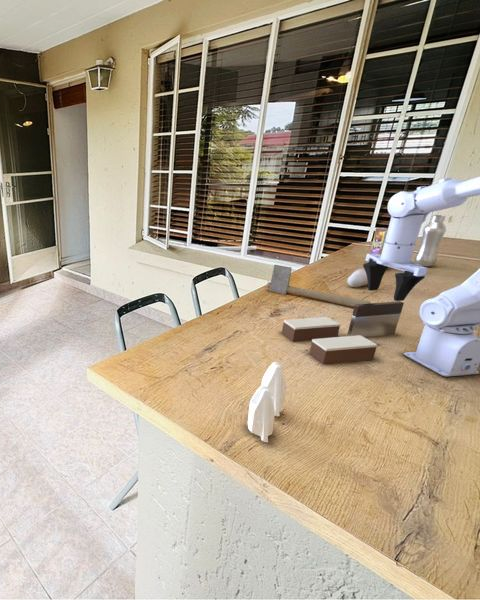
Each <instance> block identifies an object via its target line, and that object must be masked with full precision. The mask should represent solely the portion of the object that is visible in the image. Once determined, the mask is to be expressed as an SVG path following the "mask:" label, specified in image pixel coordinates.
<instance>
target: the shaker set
mask: <svg viewBox="0 0 480 600" xmlns="http://www.w3.org/2000/svg"><path fill="white" fill-rule="evenodd" d="M286 391H287V383H286V380H285V377H284V372H283V369H282V367H281V365H280V364H279V362H278V361H273V362H272V363H271V364H270V365H269V366H268V368H267V369H266V371H265V373H264V375H263V376H262V379H261V385H260V386H259V387H258V388H257V389H256V391H255V392H254V393H253V396H252V397H251V398H250V401H249V406H248V414H247V415H248V416H247V423H246V424H247V429H248V430H249V432H250V433H251V434H254V435H255V436H258V437H259V438H260V441H262V442H263V443H269V436H271V435H272V434H273V431H274V422H275V417H280V415H281V414H280V413H281V412H282V411H283V410H284V405H285V399H286Z"/></svg>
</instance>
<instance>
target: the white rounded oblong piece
mask: <svg viewBox="0 0 480 600" xmlns="http://www.w3.org/2000/svg"><path fill="white" fill-rule="evenodd" d="M346 283H347V285H348V286H350V287H351V288H360V287H363V286H368V280H367V275H366V271H365V269H364V268H357V269H355V270H354V271H353V273H351V274H350V276H348V278H347V280H346Z"/></svg>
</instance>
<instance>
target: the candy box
mask: <svg viewBox="0 0 480 600" xmlns="http://www.w3.org/2000/svg"><path fill="white" fill-rule="evenodd" d="M388 228H389V227H375V231H374V235H373V239H372V244H371V248H370V253H369V254H371V253H375V254H379V255H381V254H382V250H383V246H384V243H385V239H386V235H387V231H388ZM368 262H369V261H367V263H368ZM388 269H389V267H388V268H387V270H386V271H388Z"/></svg>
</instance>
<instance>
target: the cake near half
mask: <svg viewBox="0 0 480 600" xmlns="http://www.w3.org/2000/svg"><path fill="white" fill-rule="evenodd" d="M377 347H378V344H377V343H375V342H373V341H372V340H369V339H368V338H367V337H363V336H361V335H357V336H347V335H345V336H337V337H333V338H321V339H312V340H311V344H310V349H309V355H311V356H312V357H313V358H315V359H316V361H319V362H320V363H322V364H323V365H325V364H326V365H327V364H328V365H329V364H339V363H350V362H361V361H362V362H363V361H373V360H374V358H375V354H376V350H377Z"/></svg>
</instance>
